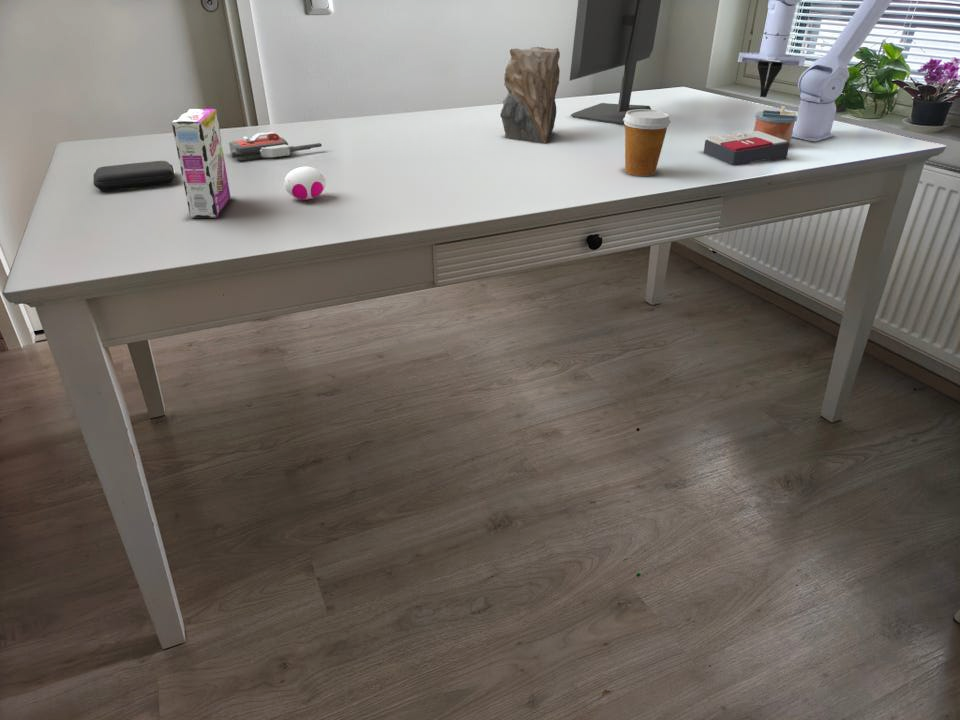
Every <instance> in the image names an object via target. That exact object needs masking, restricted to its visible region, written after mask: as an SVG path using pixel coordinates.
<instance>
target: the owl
mask: <svg viewBox="0 0 960 720" xmlns="http://www.w3.org/2000/svg"><path fill="white" fill-rule="evenodd" d="M509 55H510V59H509V61H508V63H507V65H506V67H505V73H504V77H503V78H504V79H503V80H504V81H503V82H504V84H503V85H504V86H505V88H506V90H507V92H508V93H507V95H506V97H505V98H504V99H503V101H502V104H503V105H502V108H501V111H500V114H499V115H500V118H501V121H502V127H503V131H504V138H506V139H510V140H511V139H512V140H518V141H525V142H526V141H527V142H532V143H541V144H547V143H548V141H550V138H551V136H552V135H553V130H554V128H555V123H556V117H557V104H556V94H557V91H558V87H559V84H560V73H561V70H560V65H559V60H560V58H561V53H560V50H559V48H558V47H556V48H546V47H542V46H535V47H533V46H532V47H530V48H525V49H522V48H521V49H520V48H510V49H509Z"/></svg>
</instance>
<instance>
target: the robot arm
mask: <svg viewBox="0 0 960 720" xmlns="http://www.w3.org/2000/svg"><path fill="white" fill-rule="evenodd" d="M767 1H768V3H767V14H766V18H765V24H764V28H763V34H762V39H761V42H760V47H759V52H743V51H742V52H739V53H738V59H737V63H754V64H757V70H758V71H757V72H758V75H759V83H760V95H759V97H760V98H767V96H768V93H769V90H770V88H771V86H772V84H773V83H774V80H775V79H776V78H777V76H778V75H779V73H780V72H781V70H782V69H783V66H785V65H786V66H797V67H805V66H804V65H805V61H806V56H805V55H796V54H795V55H793V54H786V53H787V49H788V45H789V39H790V35H791V31H792V27H793V21H794V17H795V12H796V9H797V4H799V3H800V2H801V1H802V0H767ZM892 2H893V0H862V1H861V3H860V5H859V6H858V8H857V9H856V10H855V12H854V13H853V15H852V16H851V18H850V19H849V21H848V22H847V24H846V25H845V27H844V28H843V30H842V31H841V33H840V34H839V35H838V37H837V39H836V40H835V42H834V43H833V44H832V46H831V47H830V49H829V50H828V52H827V53H826V54H825V55H823V56H822V57H820V58H818V59H816V60H814V61H813V63H812V64H811V65H810V66H809V68H807V69H806V70H804V71H803V72H802V73H801V75H800V77H799V78H798V82H797V89H798V92H799V93H800V95H799V97H800V101H799V106H798V110H797V115H796V116H797V121H795V124H794V128H793V133H792V137H791V138H795V139H800V140H804V141H808V142H815V143H816V142H818V141H819V142H820V141H822V140H825V139H829V138H832V137H833V136H834V133H831V132H832V128H833V125H834V121H835V117H836V113H837V104H836V103H835V102H836V100H837V99H838V98H839V97H840V96H841V94H842V93H843V90H844V88H845V84H846V82H847V80H848V79H849V77H850V72H849V69H848V65H849V64H850V62H851V61H852V59H853V58H854V56H855V55H856V53H857V52H858V51H859V49H860V48H861V47H862V45H863V44H864V42H865V40H866V39H867V38H868V36H869V35H870V34H871V32H872V30H873V29H874V27H875V26H876V25H877V24H878V22H879V21H880V19H881V18H882V16H883V15H884V13H885V12H886V10H887V9H888V7H889V6H890V5H891V3H892Z"/></svg>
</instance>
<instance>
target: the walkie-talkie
mask: <svg viewBox="0 0 960 720" xmlns="http://www.w3.org/2000/svg"><path fill="white" fill-rule="evenodd" d="M265 136H266V137H265ZM228 145H229V151H230V155H231V157H232V158H233V159H236V160H237V161H241V162H243V161H249V160H256V159H264V158H278V157H285V156H290V155H291V153H295V152H298V151H299V152H301V151H305V150H311V149H314V148H321V147H322V143H321V142H317V143H309V144H303V145H296V146H293V145H291V146H289V142H288V141H286V139H285V138H283V137H281V136H280V135H279V134H278V133H276V132H275V131H266V132H256V133H255V134H254V135H253V136H252V137H251V138H250V137H248V136H243V139H241V140H234V141H229V142H228Z"/></svg>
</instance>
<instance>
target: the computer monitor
mask: <svg viewBox="0 0 960 720" xmlns="http://www.w3.org/2000/svg"><path fill="white" fill-rule="evenodd" d="M661 4H662V0H577V8H576V18H575V26H574V37H573V45H572V54H571V63H570V71H569V72H570V74H569V82H571V81H574V80H578V79H581V78H584V77H588V76H591V75H595V74H598V73H602V72H605V71H609V70H613V69H616V68H620V67H623V66H624V71H623V76H622V79H621V84H620V90H619V97H618V103H607V102H606V103H605V102H601V103H597V104H594V105H591V106H589V107H587V108H583V109H580V110H577V111H575V112H573V113H571V114H570V115H569V116H570V117H571V118H575V119H580V120H581V119H582V120H587V121H595V122H599V123H600V122H601V123H607V124H613V125H614V124H615V125H620V126H625V124H624V120H623V118H624V117H625V115H626V112H627V111H630V110H636V109H649V110H652V108H651V106H650V105H645V104H644V105H642V104H630V103H631V98H632V97H631V96H632V93H633V92H632V91H633V87H634V86H633V85H634V79H635V75H636V68H637V64H638V63H637V62H640V61H643V60H646V59H648V58H650V57H651V55H652V53H653V50H654V44H655V39H656V33H657V28H658V21H659V15H660V10H661Z"/></svg>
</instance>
